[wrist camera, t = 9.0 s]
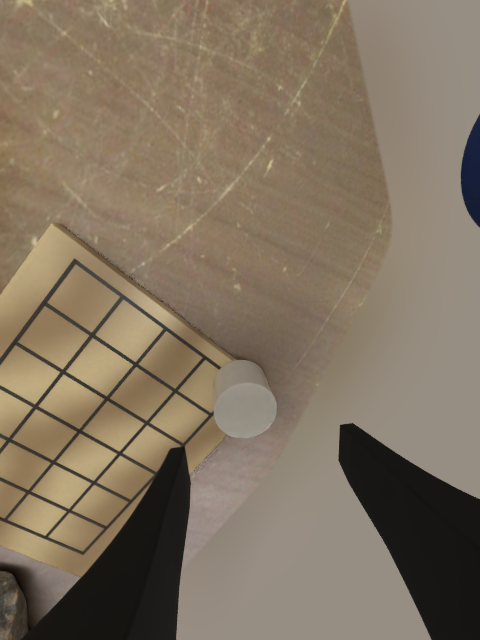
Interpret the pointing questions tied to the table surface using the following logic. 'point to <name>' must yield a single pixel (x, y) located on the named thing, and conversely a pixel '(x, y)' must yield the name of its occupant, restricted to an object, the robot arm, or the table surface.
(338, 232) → the table surface
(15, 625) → the rock
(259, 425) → the grey short cylinder
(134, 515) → the robot arm
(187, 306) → the table surface
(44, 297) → the board
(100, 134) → the table surface
